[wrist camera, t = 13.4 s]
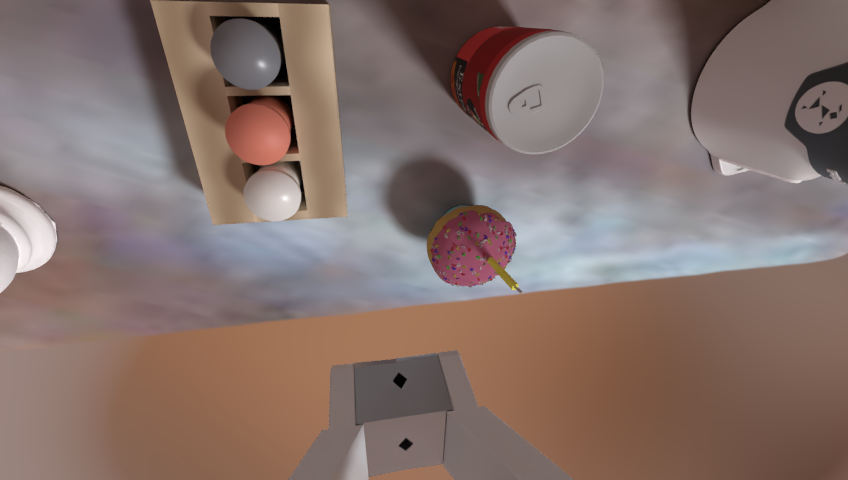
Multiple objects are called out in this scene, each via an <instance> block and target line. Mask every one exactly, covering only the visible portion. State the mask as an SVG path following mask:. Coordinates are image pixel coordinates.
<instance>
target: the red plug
mask: <svg viewBox="0 0 848 480" xmlns="http://www.w3.org/2000/svg"><path fill="white" fill-rule="evenodd" d="M293 121H294V119H293V114H292V111H291V109H290V107H289V106H288V105H287V103H286V102H284V101H283V100H282V99H280V98H279V97H276V96H273V95H261V96H258V97H256V98H254V99H253V100H252V101H251V102H250V103H249V104H245V105H242V106H240V107H238V108H237V109H236V110H235V111H233V112H232V114H231V115H230V116H229V117H228V119H227V122H226V125H225V136H226V140H227V142H228V145H229V146H230V148H231V149H232V151H233V152H234V153H235V154H236V155H237V156H238V157H239V158H241V159H242V160H244V161H246V162H248V163H251V164H255V165H270V164H273V163H275V162H277V161H279V160H280V159H281V158H282V157H283V156H284V155H285V154H286V152H287V150H288V148H289V145H290V141H291V134H290V132H291V129H292V127H293Z"/></svg>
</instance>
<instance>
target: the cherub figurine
mask: <svg viewBox="0 0 848 480" xmlns="http://www.w3.org/2000/svg"><path fill="white" fill-rule="evenodd" d="M55 225H56V224H55V223H54V222H53V221H52V220H51V219H50V217H48V215H47V214H46V213H44V211H43V210H41V207H40V206H39V205H38V204H36V203H35V202H33V201H31V200H30V199H28V198H26V197H25V196H23V195H21V194H19V193H18V192H16V191H14V190H12V189H8V187H3V186H0V293H1V292H2V291H3V290H4V289H5V288H6V287H7V286H8V285H9V284H10V283H11V281H12V280H13V278H14V276H15V273H19V272H26V271H30V270H33V269H35V268H38V267H40V266H41V265H43V264H44V263H46V262H47V261H48V260H49V259H50V258H51V257H52V255H53V253H54V251H55V248H56V243H57V235H56V226H55Z"/></svg>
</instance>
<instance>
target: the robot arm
mask: <svg viewBox="0 0 848 480" xmlns="http://www.w3.org/2000/svg"><path fill="white" fill-rule="evenodd" d="M691 119H692V126H693V130H694V133H695V135H696V137H697V139H698V141H699V142H700V143H701V144H702V145H703V146H704V147H705V148H706V149H707V150H708V152H709V153H710V155H711V160H712V165H713V168H714V170H715V172H716V173H718V174H722V175H726V176H727V175H732V174H736V173H740V172H744V171H748V170H752V171H755V172H759V173H762V174H765V175H768V176H771V177H774V178H778V179H781V180H784V181H787V182H792V183H799V182H801V181H802V180H810V179H814V178H817V177H819V176H824V177H827V178H830V179H833V180H835V181H837V182H838V183H841V184H844V185H847V186H848V0H771V1H769V2H768V3H767V4H766V5H764V6H763V7H762V8H760V9H759V10H757V11H756V12H754V13H753V14H751V15H750V16H748V17H747V18H745V19H744V20H743V21H742V22H740V23H739V24H738V25H737V26H736V27H735V28H734V29H733V30H732V31H731V32H730V33H729V34H728V35H727V36H726V37H725V38H724V39H723V40H722V41H721V43H720V44H719V45H718V46H717V48H716V49H715V50H714V52H713V53H712V55H711V56H710V58H709V60H708V61H707V63H706V65H705V67H704V69H703V71H702V73H701V75H700V77H699V80H698V82H697V85H696V88H695V92H694V96H693V101H692V108H691ZM329 408H330V409H329V429H328V430H323V431H321V433H320V434H319V436H318V437H317V439H316V440H315V441H314V443H313V444H312V446H311V447H310V449H309V450H308V452H307V453H306V455H305V456H304V457H303V459H302V460H301V462H300V463H299V465H298V466H297V468H296V469H295V471H294V472H293V474H292V475H291V477H290V478H289V479H288V480H369V478H368V477H371V476H376V475H381V474H385V473H390V472H395V471H400V470H405V469H412V468H419V467H426V466H433V465H440V464H443V466H444V467H445V469H446V470H447V471H448V472H449V473H450V475H451V476H452V477H453V478H454V479H455V480H574V479H572V478H571V477H570V476H569V475H568V474H567V473H565V472H564V471H563V470H562V469H561V468H559V467H558V466H557V465H556V464H554V463H553V462H552V461H551V460H549V459H548V458H547V457H546V456H544V455H543V454H542V453H541V452H540V451H538V450H537V449H536V448H535V447H534V446H532V445H531V444H530V443H529V442H528V441H526V440H525V439H524V438H523V437H521V436H520V435H519V434H518V433H516V432H515V431H514V430H513V429H512V428H510V427H509V426H508V425H507V424H506V423H504V422H503V421H502V420H501V419H499V418H498V417H497V416H496V415H495V414H493V413H492V412H491V411H489V410H488V409H487V408H486V407H485V406H482V407H478V405H477V402H476V399H475V396H474V394H473V391H472V388H471V385H470V382H469V379H468V377H467V374H466V371H465V368H464V365H463V363H462V360H461V357H460V354H459V353H458V352H457V351H449V352H441V353H437V354H436V353H433V354H426V355H418V356H411V357H404V358H396V359H391V360H381V361H371V362H362V363H354V364H344V365H335V366H332V368H331V373H330V406H329Z"/></svg>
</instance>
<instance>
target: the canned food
mask: <svg viewBox="0 0 848 480" xmlns="http://www.w3.org/2000/svg"><path fill="white" fill-rule="evenodd" d="M603 85H604V75H603V68H602V64H601V61H600V59H599V56H598V54H597V53H596V51H595V50H594V48H593V47H592V46H591V45H590V44H589V43H588V42H586V41H585V40H584V39H582V38H580V37H578V36H576V35H574V34H571V33H568V32H563V31H558V30H551V29H537V28H523V27H509V26H495V27H491V28H487V29H485V30H482V31H480V32H478V33H477V34H475V35H474V36H473V37H471V38H470V39H469V40H468V41H467V42H466V43H465V44H464V45H463V46H462V48H461V49H460V51H459V53H458V54H457V56H456V59H455V61H454V63H453V67H452V72H451V88H452V93H453V96H454V99H455V101H456V102H457V104H458V106H459V107H460V108H461V109H462V110H463V111H464V112H465V113H466V114H467V115H468V116H469V117H471V118H472V119H473V120H474V121H475V122H477V123H478V124H479V125H480V126H481V127H483V128H484V129H485V130H486V131H487V132H488V133H490V134H491V135H492V136H493V137H494V138H496V139H497V140H499V141H500V142H501V143H502V144H504V145H506V146H507V147H509V148H511V149H513V150H515V151H518V152H521V153H525V154H544V153H547V152H551V151H554V150H557V149H559V148H561V147H563V146H565V145H566V144H568V143H569V142H571V141H572V140H574V139H575V138H576V137H577V136H578V135H579V134H580V133H581V132H582V131H583V130H584V129H585V128H586V127H587V125H588V124H589V123H590V121H591V120H592V118H593V116H594V115H595V113H596V111H597V108H598V106H599V104H600V101H601V97H602V93H603Z"/></svg>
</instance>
